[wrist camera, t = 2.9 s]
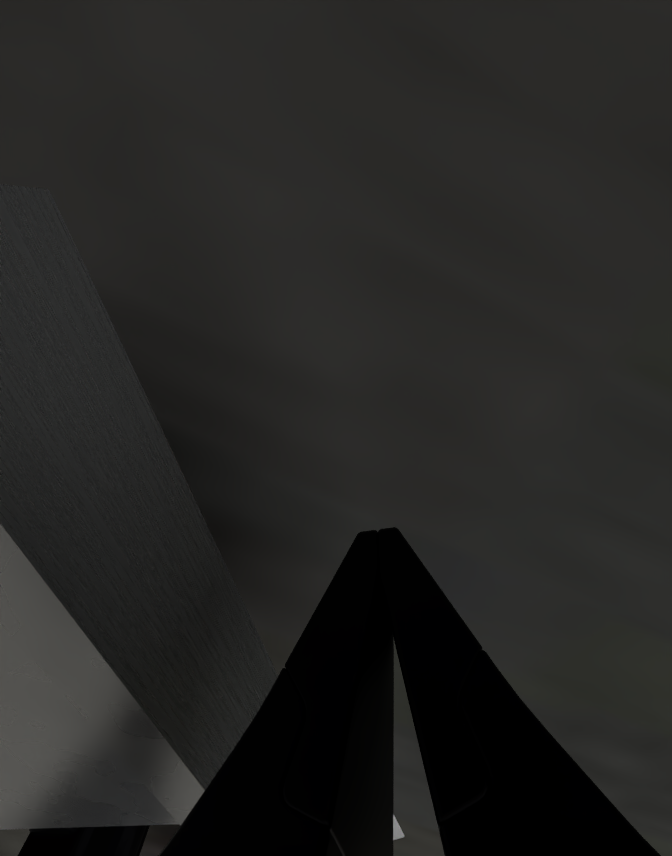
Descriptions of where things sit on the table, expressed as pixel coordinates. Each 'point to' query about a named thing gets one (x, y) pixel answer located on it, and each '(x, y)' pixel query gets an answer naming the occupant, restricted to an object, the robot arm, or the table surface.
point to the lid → (101, 567)
